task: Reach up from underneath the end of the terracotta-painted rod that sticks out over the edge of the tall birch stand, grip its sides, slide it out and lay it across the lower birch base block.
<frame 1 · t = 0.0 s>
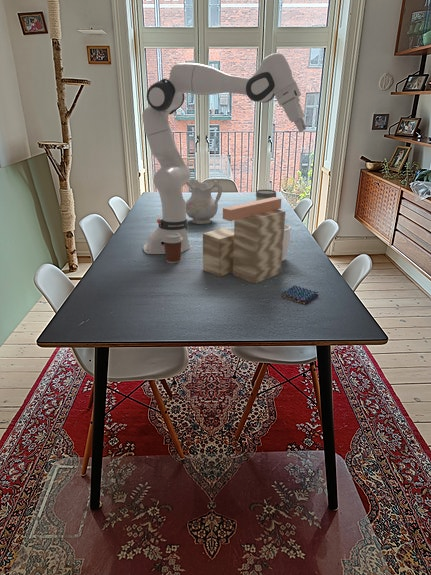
hand: (303, 130, 158), 54 cm above the table, tool tilted 30°, fingers open, 8 cm apart
coffee cup: (173, 261, 180), on the table
woven mat: (299, 297, 148), on the table
rod: (253, 213, 153), point 26 cm above the table, touching stand
base block: (221, 269, 170), on the table
reusable coffee cup: (264, 216, 251), on the table
jar: (276, 259, 183), on the table
ceramic pitcher: (203, 222, 238), on the table
stand: (256, 273, 167), on the table
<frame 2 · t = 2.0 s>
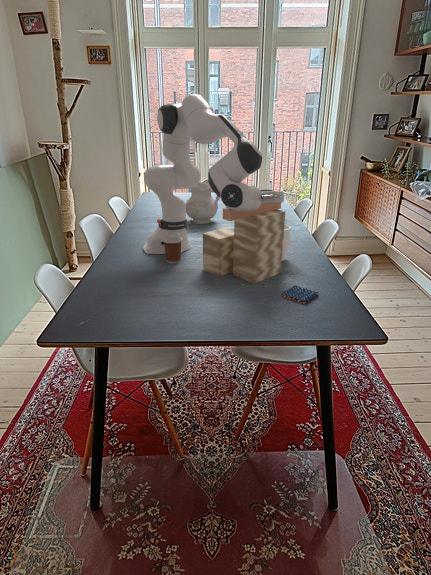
hand: (260, 199, 149), 32 cm above the table, tool horizontal, fingers open, 8 cm apart
rod: (253, 213, 153), point 26 cm above the table, touching gripper, stand
everything else where it was.
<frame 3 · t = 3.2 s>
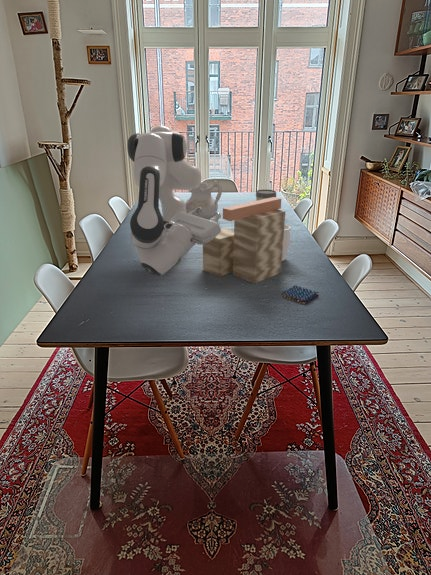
hand: (209, 211, 138), 30 cm above the table, tool pointing upward, fingers open, 8 cm apart
rod: (253, 213, 153), point 26 cm above the table, touching stand
everything else where it was.
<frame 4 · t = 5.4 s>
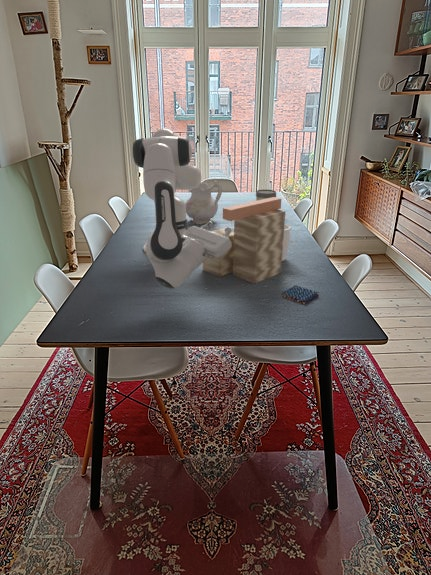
hand: (220, 226, 144), 24 cm above the table, tool pointing upward, fingers open, 8 cm apart
nothing on the table moved.
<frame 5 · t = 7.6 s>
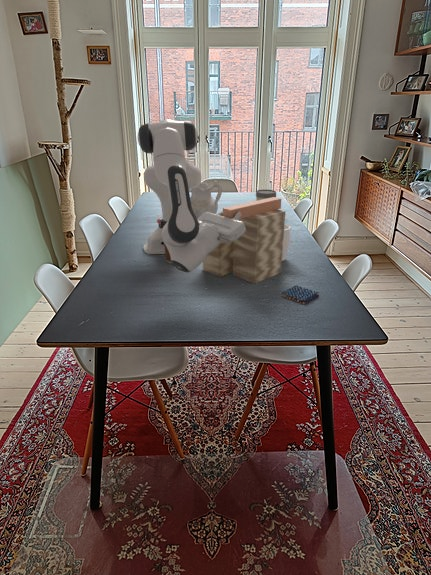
hand: (234, 211, 146), 28 cm above the table, tool pointing upward, fingers closed on rod, 4 cm apart
rod: (253, 213, 153), point 26 cm above the table, touching gripper, stand
everything else where it was.
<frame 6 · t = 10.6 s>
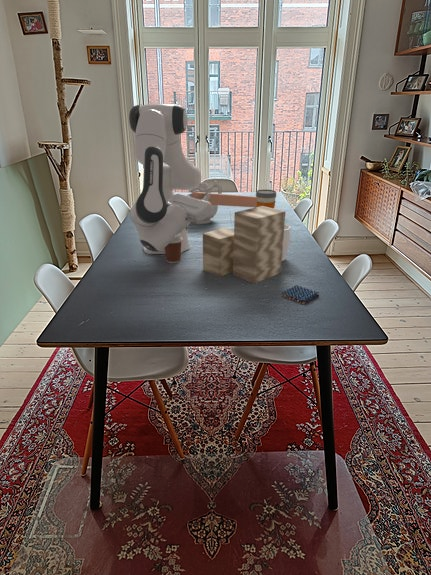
hand: (203, 193, 149), 34 cm above the table, tool pointing upward, fingers closed on rod, 4 cm apart
rod: (225, 205, 156), point 28 cm above the table, tilted 11°, touching gripper, stand
everything else where it was.
when the fingers open (20 cm above the table, at t = 14.0 s): rod stays where it is, resting on base block.
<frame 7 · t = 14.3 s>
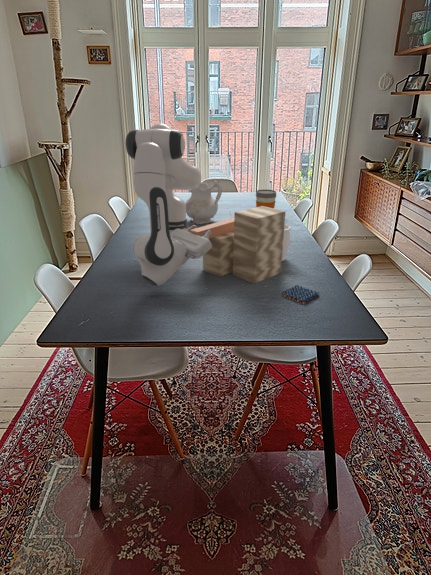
hand: (202, 228, 156), 20 cm above the table, tool pointing upward, fingers open, 7 cm apart
rod: (219, 233, 164), point 16 cm above the table, touching base block
everything else where it was.
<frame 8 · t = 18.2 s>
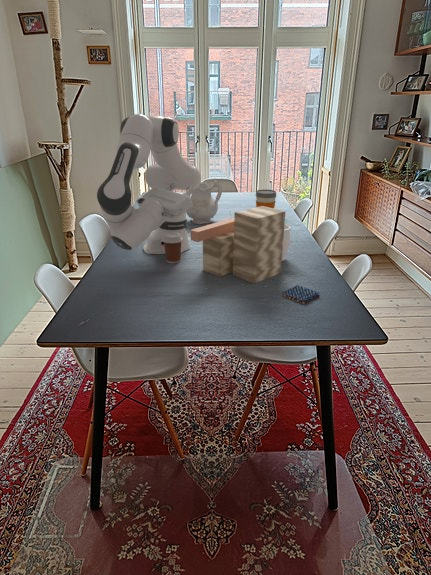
hand: (182, 186, 137), 38 cm above the table, tool pointing upward, fingers open, 8 cm apart
nothing on the table moved.
at the end: rod inside the target area on the base block (1.1 cm from its centre), point 16.0 cm above the base block's base; the gripper is holding nothing; rod touching base block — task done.
